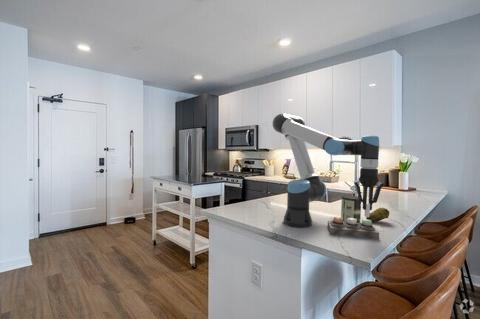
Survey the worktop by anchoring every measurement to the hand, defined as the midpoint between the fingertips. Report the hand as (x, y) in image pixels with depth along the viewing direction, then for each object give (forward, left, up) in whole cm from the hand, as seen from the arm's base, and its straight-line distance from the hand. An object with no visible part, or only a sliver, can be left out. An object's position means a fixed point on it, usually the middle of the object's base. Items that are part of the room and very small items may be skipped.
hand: (366, 216), depth 116 cm
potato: (+11, +24, -9) cm, 28 cm away
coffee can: (-4, +19, -9) cm, 21 cm away
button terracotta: (-13, 0, -4) cm, 14 cm away
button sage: (0, 0, -4) cm, 4 cm away
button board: (-7, 0, -9) cm, 11 cm away
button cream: (-7, 0, -4) cm, 8 cm away
